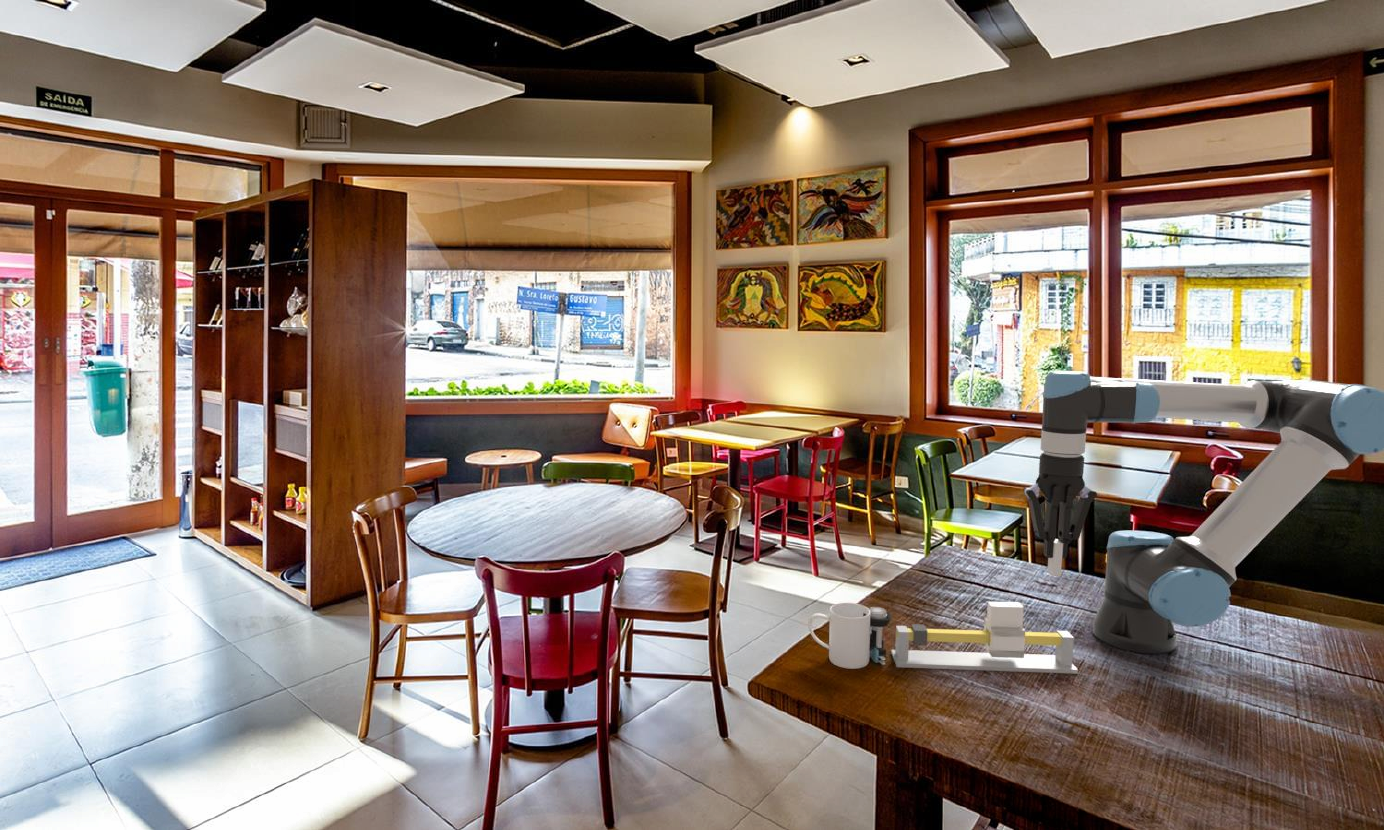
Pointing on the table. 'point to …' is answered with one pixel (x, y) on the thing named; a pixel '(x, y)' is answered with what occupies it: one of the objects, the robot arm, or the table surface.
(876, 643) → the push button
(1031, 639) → the long yellow bar
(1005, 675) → the table surface
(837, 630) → the mug
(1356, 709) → the table surface
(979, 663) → the linear slide rail
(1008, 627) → the white stepped block
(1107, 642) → the robot arm
